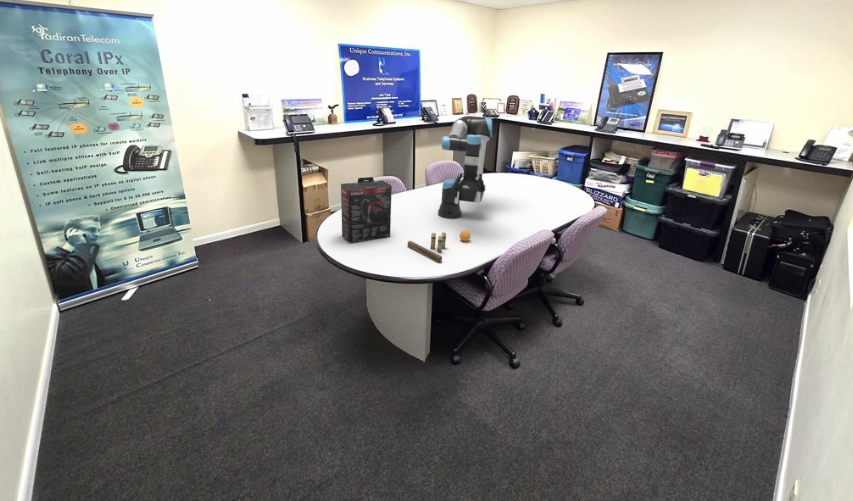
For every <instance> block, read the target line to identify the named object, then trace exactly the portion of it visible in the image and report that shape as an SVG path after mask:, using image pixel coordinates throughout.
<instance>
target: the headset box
mask: <svg viewBox="0 0 853 501" xmlns="http://www.w3.org/2000/svg"><path fill="white" fill-rule="evenodd" d="M392 190H393V189H392V185H391V184H390V183H389V182H386V181H384V180H374V176H369V177H368V176H367V177H366V176H365V177H358V178H357V182H348V183H340V201H341V204H340V205H341V206H340V207H341V236H342V238H344V239H345V240H346V241H347V242H348V243H349V244H351V243H359V242H364V241H366V242H367V241H372V240H378V239H384V238H390V237H391V222H392V221H391V220H392V215H391V214H392V192H393V191H392Z"/></svg>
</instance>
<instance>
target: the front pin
mask: <svg viewBox="0 0 853 501" xmlns="http://www.w3.org/2000/svg"><path fill="white" fill-rule="evenodd" d="M440 236H443V242H442V250H444V249H446V244H447V243H446V240H447V233H446V232H445V231H444V232H443V231H442V232H441V235H440Z"/></svg>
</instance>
